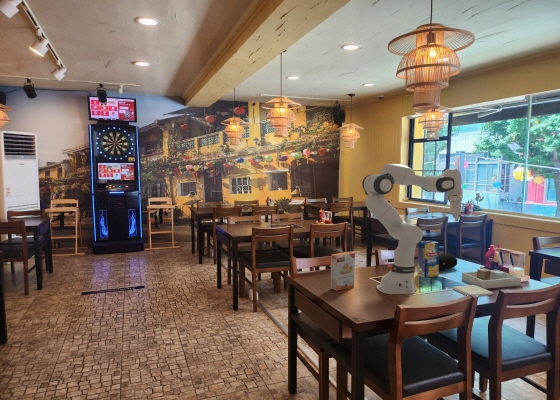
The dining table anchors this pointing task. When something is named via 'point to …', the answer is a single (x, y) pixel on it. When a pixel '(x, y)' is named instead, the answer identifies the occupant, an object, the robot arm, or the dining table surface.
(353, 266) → the cracker box
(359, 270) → the dining table surface
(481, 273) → the walnut block
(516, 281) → the grey bin
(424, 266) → the blue tall cardboard box
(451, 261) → the portable speaker
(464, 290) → the cream tile
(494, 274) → the blue-grey block
